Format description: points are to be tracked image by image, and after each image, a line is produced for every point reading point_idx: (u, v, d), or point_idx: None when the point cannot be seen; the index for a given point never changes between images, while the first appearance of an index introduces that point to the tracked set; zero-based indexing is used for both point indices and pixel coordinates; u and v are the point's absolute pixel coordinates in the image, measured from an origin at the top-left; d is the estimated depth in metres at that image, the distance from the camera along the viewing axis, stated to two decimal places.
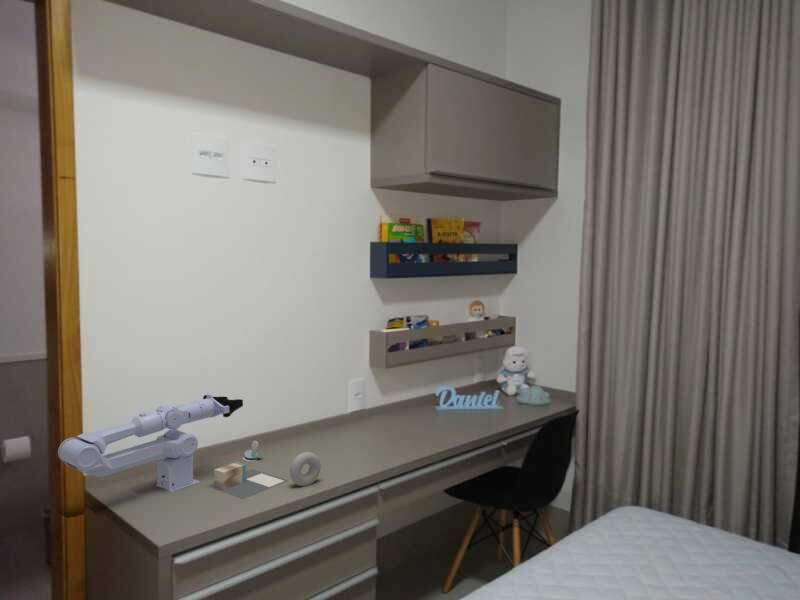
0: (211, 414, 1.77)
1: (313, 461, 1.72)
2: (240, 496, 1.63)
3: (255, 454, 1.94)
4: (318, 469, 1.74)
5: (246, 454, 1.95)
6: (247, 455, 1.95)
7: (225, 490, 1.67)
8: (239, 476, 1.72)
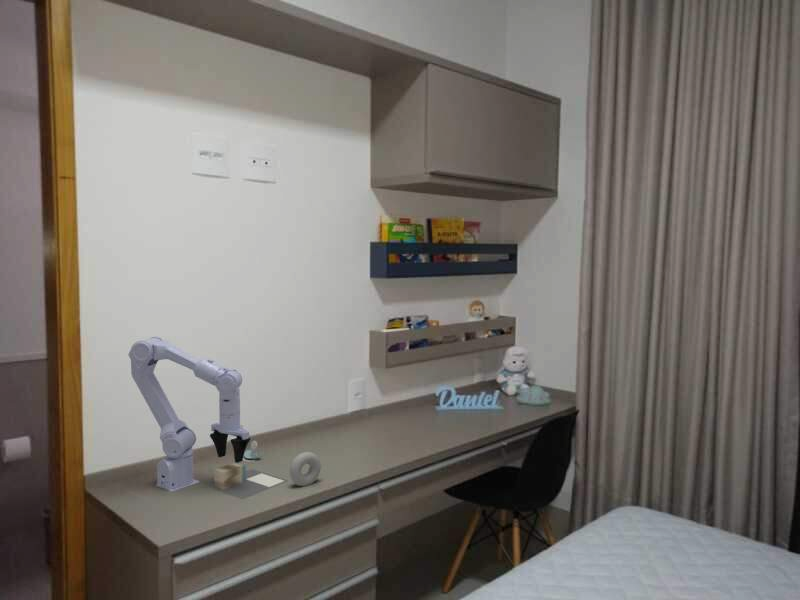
0: (230, 427, 1.68)
1: (313, 461, 1.72)
2: (240, 496, 1.63)
3: (254, 454, 1.94)
4: (318, 469, 1.74)
5: (245, 454, 1.95)
6: (246, 455, 1.95)
7: (225, 490, 1.67)
8: (239, 476, 1.72)
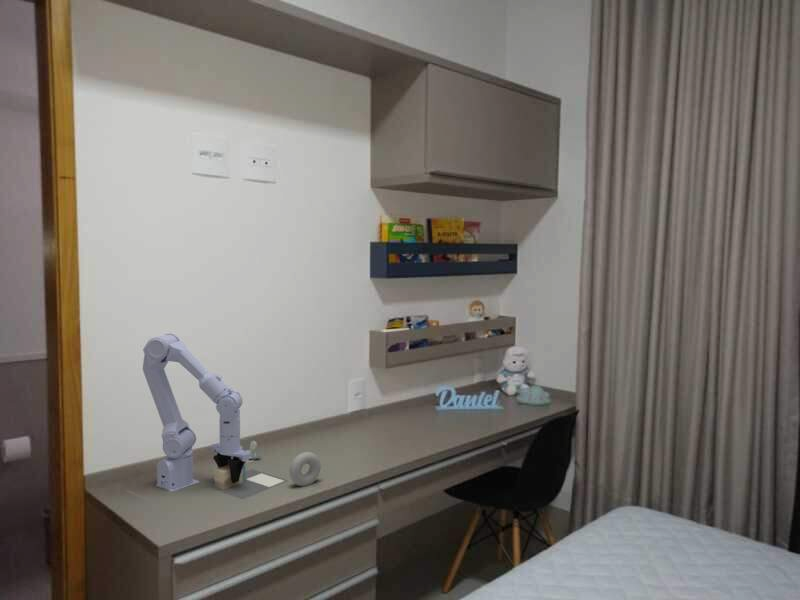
0: (230, 448, 1.68)
1: (313, 461, 1.72)
2: (240, 496, 1.63)
3: (253, 454, 1.94)
4: (318, 469, 1.74)
5: None
6: None
7: (225, 490, 1.67)
8: None
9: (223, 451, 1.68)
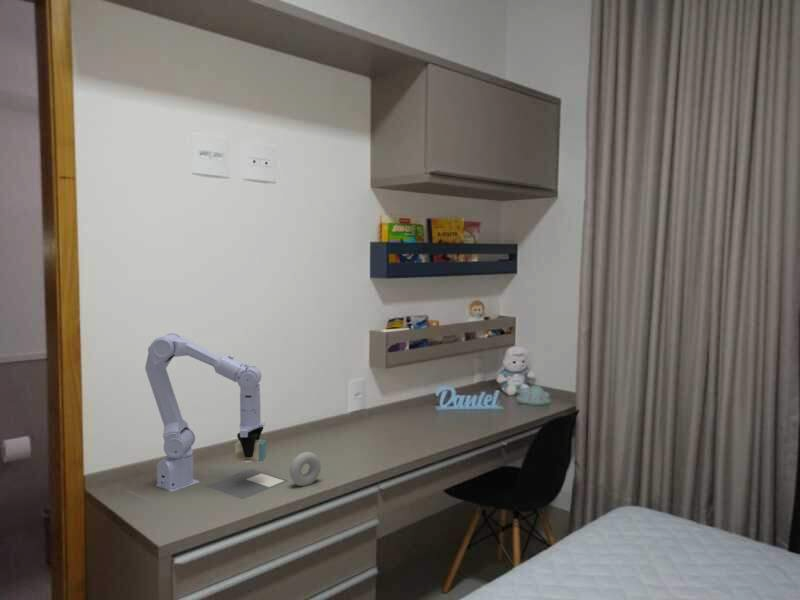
0: (242, 422, 1.70)
1: (313, 461, 1.72)
2: (240, 496, 1.63)
3: None
4: (318, 469, 1.74)
5: None
6: None
7: (225, 490, 1.67)
8: (254, 453, 1.71)
9: (240, 423, 1.72)
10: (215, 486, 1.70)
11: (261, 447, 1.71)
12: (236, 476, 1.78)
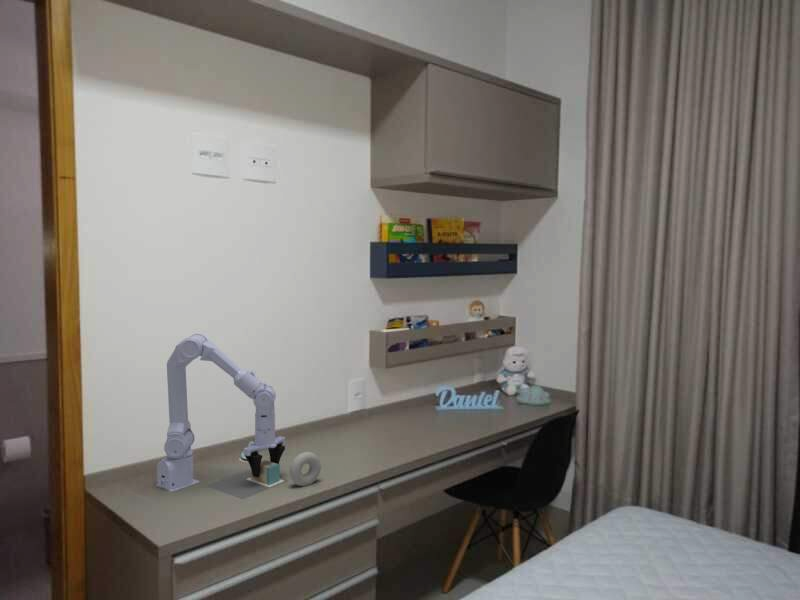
0: (255, 440, 1.73)
1: (313, 461, 1.72)
2: (240, 496, 1.63)
3: None
4: (318, 469, 1.74)
5: (242, 455, 1.94)
6: (243, 456, 1.94)
7: (225, 490, 1.67)
8: (264, 476, 1.72)
9: None
10: (215, 486, 1.70)
11: (268, 471, 1.71)
12: (236, 476, 1.78)
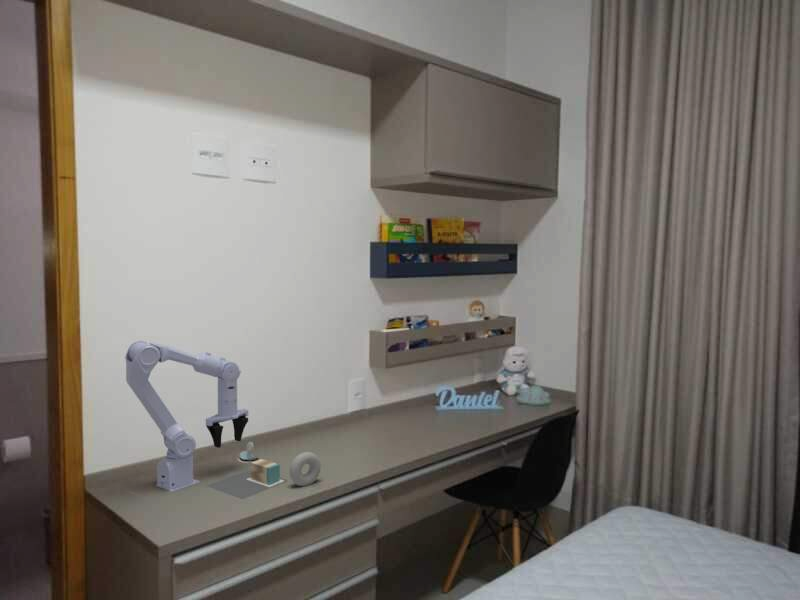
0: (218, 411, 1.79)
1: (313, 461, 1.72)
2: (240, 496, 1.63)
3: (250, 455, 1.93)
4: (318, 469, 1.74)
5: (241, 455, 1.94)
6: (242, 456, 1.94)
7: (225, 490, 1.67)
8: (264, 476, 1.72)
9: None
10: (215, 486, 1.70)
11: (268, 471, 1.71)
12: (236, 476, 1.78)
